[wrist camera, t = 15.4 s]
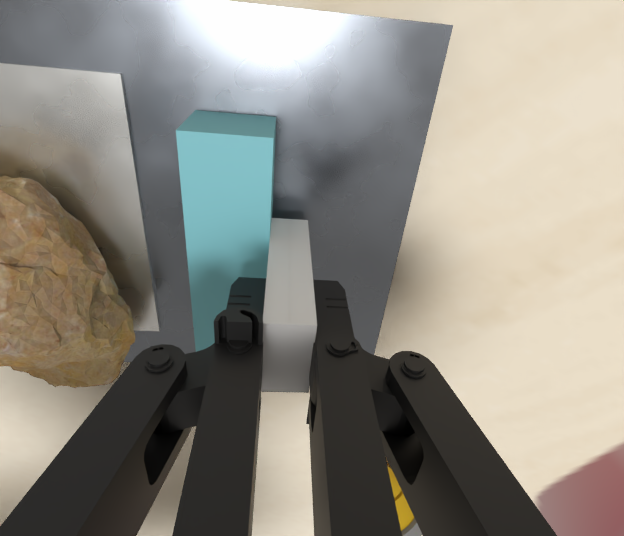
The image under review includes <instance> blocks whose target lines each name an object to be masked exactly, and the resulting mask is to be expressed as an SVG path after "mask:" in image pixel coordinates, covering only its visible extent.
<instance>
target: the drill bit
mask: <svg viewBox="0 0 624 536" xmlns="http://www.w3.org/2000/svg"><path fill="white" fill-rule="evenodd" d="M387 467H388V471H389V476H390V481H391V486H392V490H393V495H394V500H395V504H396V509H397V514H398V518H399V523H400V528H401V532H402V536H421V535H422V533H421V530H420V528H419V526H418V524H417V522H416V520H415V518H414V516H413V513H412V511H411V509H410V507H409V505H408V503H407V501H406V498H405V496H404V494H403V492H402V490H401V488H400V486H399V484H398V481H397V479H396V477H395V475H394V473H393V471H392V469H391V468H390V467H389V466H387Z"/></svg>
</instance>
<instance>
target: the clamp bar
mask: <svg viewBox="0 0 624 536" xmlns="http://www.w3.org/2000/svg"><path fill="white" fill-rule="evenodd" d="M275 136H276V117H271V116H259V115H248V114H236V113H224V112H212V111H200V110H195V111H194V112H193V113H192V114H191V115H190V116H189V117H188V118H187V119H186V120H185V121H184V122H183V123H182V124H181V125H180V126H179V127H178V128H177V130H176V139H177V150H178V161H179V172H180V183H181V194H182V205H183V216H184V227H185V238H186V249H187V260H188V272H189V283H190V294H191V305H192V316H193V327H194V338H195V349H196V352H197V351H200V350H203V349H206V348H208V347H210V346H211V345H212V344H214V343H215V338H214V319H215V318H216V316H217V315H218V314H219V313H220V312H222V311H223V310H226V307H227V302H228V298H229V293H230V288H231V285H232V284H233V283H234V282H235V281H236V280H237V279H238V277H249V278H266V277H267V265H268V254H269V242H270V231H271V219H272V209H273V185H274V160H275Z"/></svg>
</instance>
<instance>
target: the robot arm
mask: <svg viewBox="0 0 624 536" xmlns="http://www.w3.org/2000/svg"><path fill="white" fill-rule="evenodd" d="M214 338H215V343H214V344H212V345H211V346H210V347H208V348H206V349H203V350H200V351H197V352H192V353H187V354H185V353H184V352H183V351H182V350H181V349H180V348H179V347H176V346H174V345H168V344H160V345H155V346H151V347H149V348H147V349H145V350H143V351H142V352H141V353H139V354H138V355H137V356H136V357H135V358H134V360H133V361H132V362H131V363H130V365H129V366H128V367H127V368H126V370H125V371H124V372H123V373H122V375H121V376H120V377H119V378H118V380H117V381H116V382H115V383H114V385H113V386H112V387H111V388H110V390H109V391H108V392H107V393H106V395H105V396H104V397H103V398H102V400H101V401H100V402H99V403H98V405H97V406H96V407H95V408H94V410H93V411H92V412H91V413H90V415H89V416H88V417H87V419H86V420H85V421H84V422H83V424H82V425H81V426H80V427H79V429H78V430H77V431H76V432H75V434H74V435H73V436H72V437H71V439H70V440H69V441H68V442H67V444H66V445H65V446H64V447H63V449H62V450H61V451H60V452H59V454H58V455H57V456H56V457H55V459H54V460H53V461H52V462H51V464H50V465H49V466H48V467H47V469H46V470H45V471H44V472H43V474H42V475H41V476H40V477H39V479H38V480H37V481H36V482H35V484H34V485H33V486H32V487H31V489H30V490H29V491H28V492H27V494H26V495H25V496H24V497H23V499H22V500H21V501H20V502H19V504H18V505H17V506H16V507H15V509H14V510H13V511H12V512H11V514H10V515H9V516H8V518H7V519H6V520H5V521H4V523H3V524H2V525H1V526H0V536H136V535H137V533H138V531H139V529H140V527H141V525H142V523H143V521H144V520H145V518H146V516H147V514H148V512H149V510H150V508H151V506H152V504H153V502H154V500H155V498H156V496H157V494H158V493H159V491H160V489H161V487H162V485H163V483H164V481H165V479H166V477H167V475H168V473H169V471H170V469H171V467H172V466H173V464H174V462H175V460H176V458H177V456H178V454H179V452H180V450H181V448H182V446H183V444H184V442H185V440H186V438H187V437H188V435H189V433H190V431H191V427H193V426H197V427H196V431H195V436H194V440H193V445H192V449H191V454H190V458H189V463H188V467H187V472H186V476H185V481H184V486H183V490H182V495H181V499H180V504H179V508H178V513H177V517H176V522H175V526H174V531H173V535H172V536H251V535H252V521H253V507H254V492H255V478H256V464H257V449H258V435H259V421H260V406H261V391H262V392H306V393H309V385H310V400H309V408H308V415H307V423H306V424H309V429H310V451H311V473H312V495H313V516H314V536H402V532H401V528H400V523H399V518H398V514H397V509H396V504H395V500H394V495H393V490H392V486H391V481H390V476H389V471H388V467H387V462H386V458H387V460H388V462H389V464H390V466H391V469H392V471H393V473H394V475H395V477H396V479H397V481H398V484H399V486H400V488H401V490H402V492H403V494H404V496H405V498H406V501H407V503H408V505H409V507H410V509H411V511H412V513H413V516H414V518H415V520H416V522H417V524H418V526H419V528H420V530H421V533H422V535H423V536H557V535H556V534H555V532H554V531H553V529H552V528H551V527H550V525H549V524H548V523H547V521H546V520H545V518H544V517H543V516H542V514H541V513H540V511H539V510H538V509H537V507H536V506H535V504H534V503H533V502H532V500H531V499H530V497H529V496H528V495H527V493H526V492H525V490H524V489H523V488H522V486H521V485H520V484H519V482H518V481H517V479H516V478H515V477H514V475H513V474H512V472H511V471H510V470H509V468H508V467H507V465H506V464H505V463H504V461H503V460H502V458H501V457H500V456H499V454H498V453H497V452H496V450H495V449H494V447H493V446H492V445H491V443H490V442H489V440H488V439H487V438H486V436H485V435H484V433H483V432H482V431H481V429H480V428H479V426H478V425H477V424H476V422H475V421H474V420H473V418H472V417H471V415H470V414H469V413H468V411H467V410H466V408H465V407H464V406H463V404H462V403H461V401H460V400H459V399H458V397H457V396H456V394H455V393H454V392H453V390H452V389H451V388H450V386H449V385H448V383H447V382H446V381H445V379H444V378H443V376H442V375H441V374H440V372H439V371H438V369H437V368H436V367H435V365H434V364H433V363H432V362H431V361H430V360H429V359H428V358H426V357H425V356H423V355H421V354H419V353H415V352H412V351H401V352H398V353H395V354H394V355H393V356H392V357H391V358H390V360H389V359H385V358H382V357H378V356H375V355H373V354H370V353H368V352H367V351H365V350H364V349H362V347H361V345H360V343H359V342H358V341H357V340H356V339H355V337H354V333H353V328H352V323H351V318H350V313H349V309H348V303H347V298H346V293H345V289H344V288H343V287H342V286H341V284H340V283H339V282H338V281H330V280H313V273H312V262H311V250H310V239H309V228H308V220H298V219H282V218H272V219H271V231H270V242H269V254H268V265H267V277H266V278H249V277H238V279H237V280H236V281H235V282H234V283H233V284H232V285H231V288H230V293H229V298H228V302H227V307H226V310H223V311H222V312H220V313H219V314H218V315H217V316H216V318H215V319H214ZM385 456H386V457H385Z"/></svg>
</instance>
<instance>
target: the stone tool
mask: <svg viewBox="0 0 624 536" xmlns="http://www.w3.org/2000/svg"><path fill="white" fill-rule="evenodd" d="M134 342H135V333H134V327H133V318H132V313H131V310H130V307H129V306H128V305H127V304H126V303H125V301H124V300H123V298H122V297H121V296H120V295H118V287H117V285H116V283H115V281H114V278H113V275H112V274H111V273H110V271H109V269H108V268H107V265H106V262H105V260H104V258H103V256H102V254H101V253H100V251H99V249H98V248H97V246H96V244H95V242H94V240H93V238H92V236H91V235H90V233H89V232H88V231H87V229H86V227H85V226H84V224H83V223H82V222H81V221H79V220H78V219H76V218H75V217H73V216H72V215H71V214H70V213H68V212H67V211H66V210H64V208H63V207H62V206H61V205H60V203H59V201H58V200H57V198H56V197H54V196H53V195H52V194H50V193H49V192H48V191H47V190H46V189H45V188H44V187H43V186H42V185H41V184H40V183H39V182H36V181H34V180H32V179H28V178H11V177H8V176H6V175H5V176H2V177H0V366H11V368H12V369H13V370H17V371H24V372H27V373H29V374H30V375H32V376H34V377H37V378H41V379H44V380H45V381H47V382H48V383H49V384H52V385H53V386H55V387H56V386H70V387H74V388H76V387H88V386H97V385H105V384H109V383H112V382H113V381H114V380H115V379H116V378H117V377H118V376H119V373H120V368H121V365H122V363H123V362H124V359H125V357H126V355H127V353H128V352H129V350H130V345H132V344H133V343H134Z"/></svg>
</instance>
